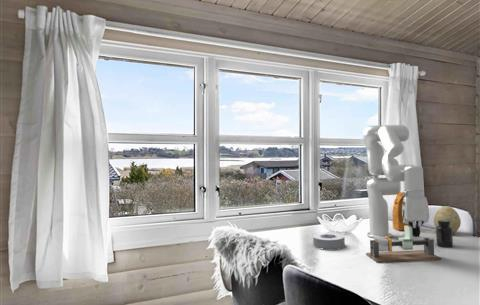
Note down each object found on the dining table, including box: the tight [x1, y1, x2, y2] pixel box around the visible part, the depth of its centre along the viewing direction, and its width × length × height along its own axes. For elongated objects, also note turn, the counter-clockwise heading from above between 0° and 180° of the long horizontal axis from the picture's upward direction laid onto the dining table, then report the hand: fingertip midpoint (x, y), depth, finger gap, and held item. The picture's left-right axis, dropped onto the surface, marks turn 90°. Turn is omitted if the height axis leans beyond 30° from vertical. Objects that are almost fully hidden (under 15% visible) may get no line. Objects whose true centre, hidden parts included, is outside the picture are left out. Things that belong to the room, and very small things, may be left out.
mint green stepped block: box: [398, 226, 414, 251], centre depth 158 cm, size 4×4×9 cm
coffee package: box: [392, 191, 411, 232], centre depth 214 cm, size 10×12×22 cm
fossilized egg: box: [433, 205, 462, 234], centre depth 198 cm, size 13×13×15 cm
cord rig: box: [365, 237, 442, 264], centre depth 158 cm, size 12×27×9 cm, turn 92°
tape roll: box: [312, 232, 346, 250], centre depth 182 cm, size 15×15×5 cm
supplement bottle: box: [435, 220, 454, 248], centre depth 174 cm, size 7×7×12 cm
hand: (416, 236), depth 158 cm, fingers closed
